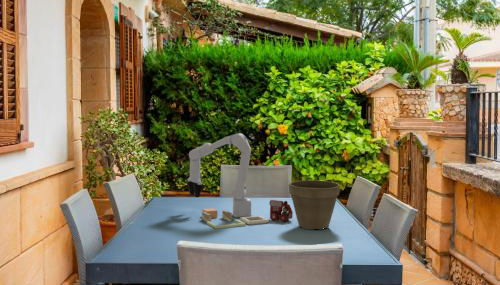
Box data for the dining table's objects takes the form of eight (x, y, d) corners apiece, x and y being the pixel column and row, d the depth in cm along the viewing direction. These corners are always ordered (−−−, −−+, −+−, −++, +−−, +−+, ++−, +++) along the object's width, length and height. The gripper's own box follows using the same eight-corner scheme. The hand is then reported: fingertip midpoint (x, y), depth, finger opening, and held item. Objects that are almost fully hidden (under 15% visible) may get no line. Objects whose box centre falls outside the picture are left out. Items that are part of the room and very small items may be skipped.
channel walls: (224, 217, 293) (225, 210, 292) (231, 220, 285) (231, 213, 285) (202, 219, 287) (202, 212, 286) (208, 222, 280) (208, 215, 279)
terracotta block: (212, 215, 298) (212, 208, 298) (217, 217, 293) (217, 210, 292) (202, 216, 295) (202, 209, 295) (206, 218, 290) (206, 211, 290)
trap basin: (259, 219, 291) (259, 215, 290) (268, 223, 282) (268, 219, 282) (240, 220, 286) (240, 217, 285) (249, 224, 277) (249, 221, 277)
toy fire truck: (289, 222, 284) (290, 202, 283) (267, 220, 289) (267, 200, 288) (293, 220, 291) (294, 200, 290) (271, 217, 295) (271, 198, 294)
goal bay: (235, 221, 284) (235, 219, 284) (245, 225, 275) (245, 223, 275) (206, 223, 277) (206, 221, 277) (215, 228, 267) (215, 226, 267)
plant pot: (305, 235, 258) (306, 188, 257) (278, 224, 280) (279, 181, 279) (348, 230, 270) (350, 186, 268) (319, 220, 292) (321, 179, 290)
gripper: (183, 169, 306) (183, 194, 307) (193, 173, 293) (192, 198, 294) (195, 169, 309) (195, 193, 310) (205, 172, 296) (205, 197, 297)
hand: (194, 196), depth 302 cm, fingers open, 7 cm apart
